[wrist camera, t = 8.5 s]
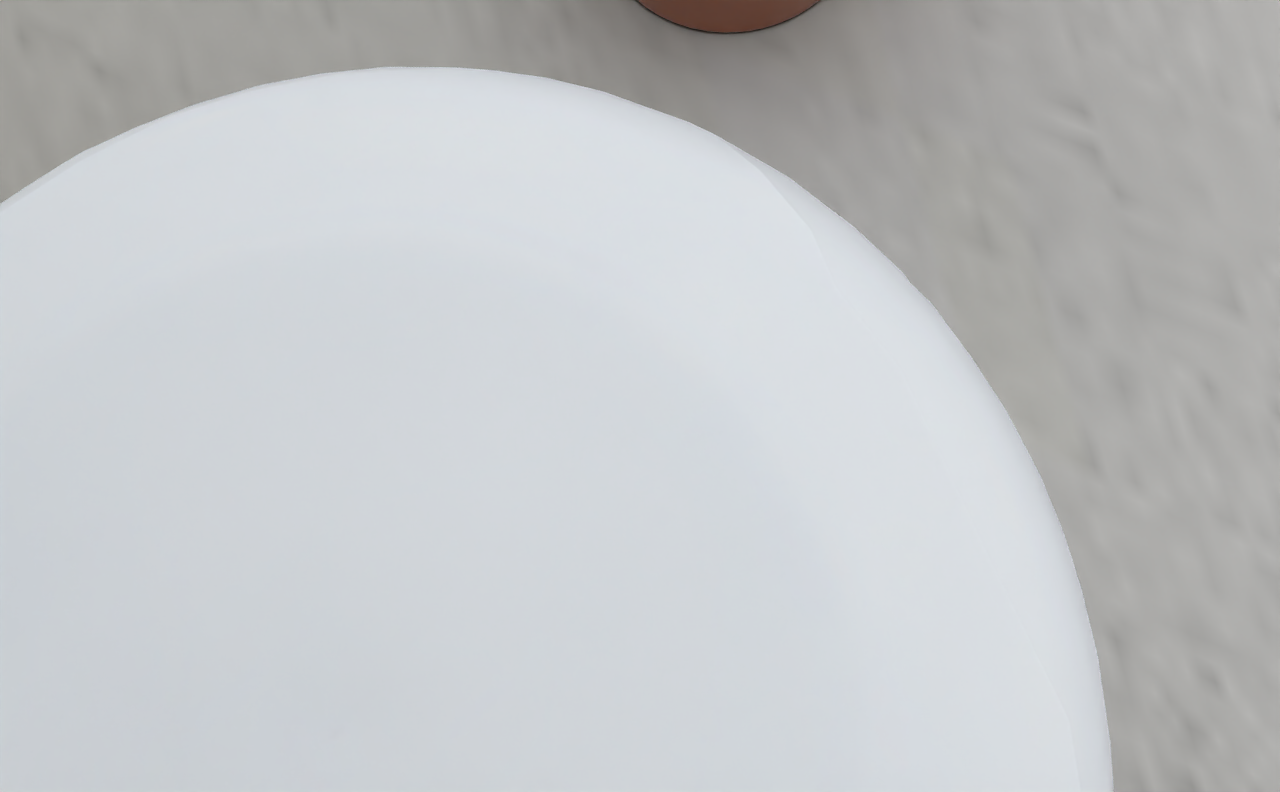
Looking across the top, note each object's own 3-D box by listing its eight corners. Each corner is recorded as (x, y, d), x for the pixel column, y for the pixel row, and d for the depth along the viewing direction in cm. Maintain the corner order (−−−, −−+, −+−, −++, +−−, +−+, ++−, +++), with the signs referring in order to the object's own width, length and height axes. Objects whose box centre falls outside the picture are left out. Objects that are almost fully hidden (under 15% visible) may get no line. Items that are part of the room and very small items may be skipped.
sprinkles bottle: (504, 493, 16) (-294, 51, 3) (756, 482, 16) (1053, -40, 3) (504, 761, 15) (-689, 1811, 2) (774, 754, 15) (1364, 1879, 2)
